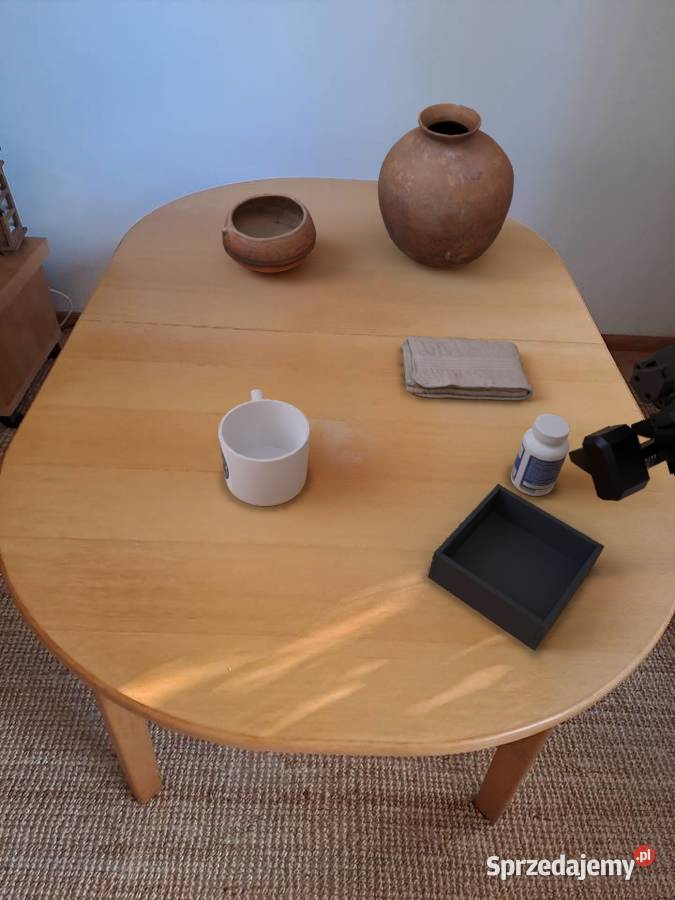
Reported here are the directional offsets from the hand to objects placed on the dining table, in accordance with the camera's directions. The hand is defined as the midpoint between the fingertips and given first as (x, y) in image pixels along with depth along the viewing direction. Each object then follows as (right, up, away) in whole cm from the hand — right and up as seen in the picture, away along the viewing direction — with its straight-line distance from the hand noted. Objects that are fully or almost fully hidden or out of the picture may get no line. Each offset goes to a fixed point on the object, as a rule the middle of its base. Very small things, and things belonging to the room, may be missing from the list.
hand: (602, 442), depth 71 cm
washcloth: (-10, +10, +27) cm, 31 cm away
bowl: (-40, +32, +47) cm, 69 cm away
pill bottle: (-4, -5, +13) cm, 14 cm away
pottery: (-11, +35, +52) cm, 63 cm away
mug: (-37, -3, +12) cm, 39 cm away
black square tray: (-9, -15, +3) cm, 17 cm away
